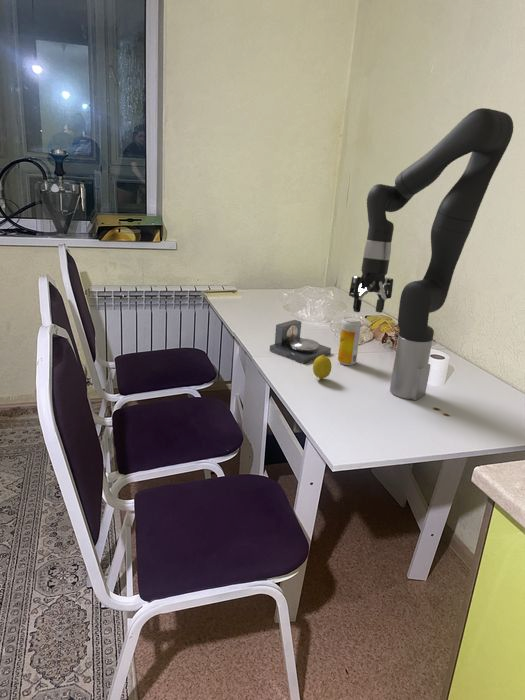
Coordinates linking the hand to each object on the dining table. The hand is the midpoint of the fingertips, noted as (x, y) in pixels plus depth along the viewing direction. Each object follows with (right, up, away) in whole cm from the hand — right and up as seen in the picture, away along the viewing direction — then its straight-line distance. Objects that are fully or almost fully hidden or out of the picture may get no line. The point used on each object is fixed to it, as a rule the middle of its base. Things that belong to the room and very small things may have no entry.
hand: (367, 312), depth 147 cm
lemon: (-14, -20, +2) cm, 25 cm away
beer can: (-4, -16, +17) cm, 23 cm away
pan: (-17, -10, +21) cm, 29 cm away
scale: (-19, -12, +23) cm, 32 cm away
